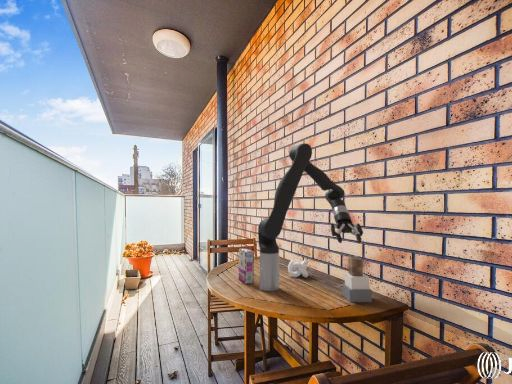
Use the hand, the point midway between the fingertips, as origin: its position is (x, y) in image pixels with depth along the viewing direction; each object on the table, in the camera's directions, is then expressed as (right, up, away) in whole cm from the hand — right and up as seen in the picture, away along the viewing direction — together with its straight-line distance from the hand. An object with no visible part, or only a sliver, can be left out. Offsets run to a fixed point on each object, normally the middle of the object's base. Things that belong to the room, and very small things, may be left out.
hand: (350, 242), depth 115 cm
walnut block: (0, -13, -7) cm, 14 cm away
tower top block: (0, -18, -7) cm, 19 cm away
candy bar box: (-49, -24, +17) cm, 57 cm away
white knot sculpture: (-20, -25, +27) cm, 42 cm away
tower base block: (0, -23, -7) cm, 24 cm away
